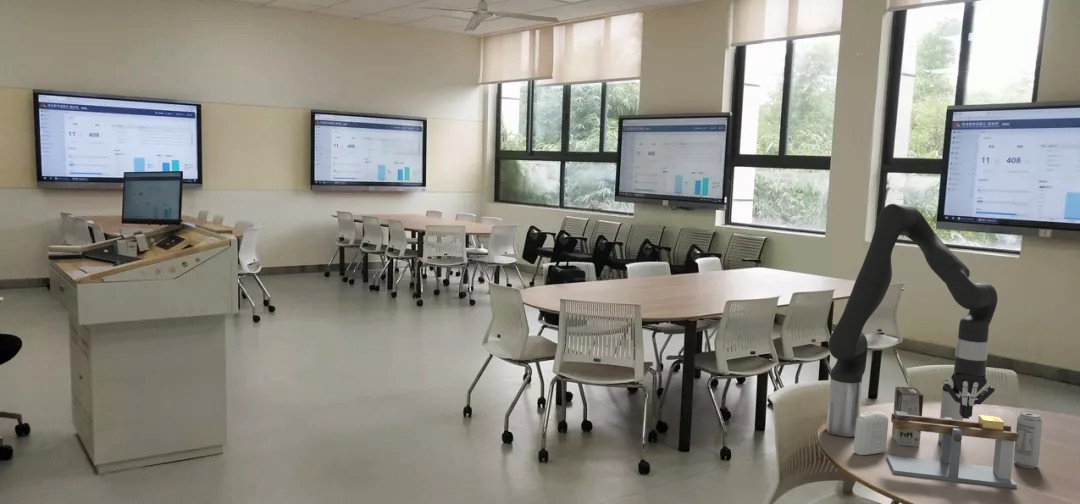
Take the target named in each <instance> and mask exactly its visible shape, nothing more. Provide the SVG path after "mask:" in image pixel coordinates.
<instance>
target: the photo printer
mask: <svg viewBox="0 0 1080 504" xmlns="http://www.w3.org/2000/svg"><path fill="white" fill-rule="evenodd" d="M888 427H889V417H888V415H887V414H886V413H885V412H881V411H880V410H879V411H878V410H870V411H865V412H863V413H861V414H860V415H859V416H858V417H857V419H856V428H855V436H854V441H853V442H854V443H853V451H854V453H856V455H859V456H868V455H874V454H880V453H885V452H886V451H887V443H888V441H887V440H888V429H889V428H888Z"/></svg>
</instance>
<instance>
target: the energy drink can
mask: <svg viewBox="0 0 1080 504" xmlns="http://www.w3.org/2000/svg"><path fill="white" fill-rule="evenodd" d="M1042 428H1043V420H1042V419H1041V414H1039V413H1036V412H1033V411H1020V413H1019V415H1018V416H1017V418H1016V429H1015V432H1017V433H1018V442H1015V441H1014V449H1013V461H1014V462H1015V465H1016V466H1018V467H1021V468H1026V469H1036V467H1037V466H1039V461H1040V460H1039V458H1040V451H1041V441H1042V440H1041V439H1042V438H1041V437H1042V430H1043V429H1042Z"/></svg>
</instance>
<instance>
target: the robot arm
mask: <svg viewBox="0 0 1080 504" xmlns="http://www.w3.org/2000/svg"><path fill="white" fill-rule="evenodd" d="M899 236H903V237H904V236H905V237H906V238H907V239H909V240H911V241H912V242H913V243H915V244H916V245H917V247H918V248H919V249H920V251H921V252H922V254H923V256H924V258H925V260H926V263H927V264H928V267H929V268H930V269H931V270H932V271H933V272H934V273H935V274H936V276H937V277H939V279H941V281H942V282H943V283H944V284H945V286H946V287H947V289H948V291H949V293H950V295H951V296H952V298H953V300H954V301H955V302H956V303H957V304H958V305H959V306H960V307H962V308H964V309H965V310H969V311H968V314H967V315H966V316H964V317H962V318H961V319H960V321H959V325H958V335H957V336H958V337H957V341H956V346H955V351H954V354H955V355H954V356H955V357H954V367H953V373H952V374H951V377H950V379H947V380H948V381H947V382H946V380H943V381H942V386H943V385H944V387H945V388H946V390H947V391H948V392H949V394H950V395H951V396H952V398H953V399H954V400H955V401H956V402H958V403H960V410H959V413H960V415H961V416H962V418H963V420H965V419H967V420H969V419H970V418H971V417H972V416H973V409H974V406H975V405H981V404H982V403H984V401H985V400H986V399H988V398H989V397H990V396H991V395H992V394H993V393H995V387H993V386H992V385H990V384H989V383H988V380H987V378H986V372H987V361H988V353H989V352H988V351H989V347H988V339H989V331H990V330H989V328H990V325H991V322H992V319H993V317H994V315H995V311H996V310H997V305H998V292H997V290H996V288H995V287H994V286H993V285H992V284H991V283H987V282H973V281H972V280H970V279H969V277H970V273H971V272H970V269H969V268H968V266H967V265H966V264H965V263H963V262H962V260H960V259H959V258H958V256H957V255H956V254H955V253H954V252H952V250H951V249H949V247H948V246H947V245H945V243H944V242H943V241H942V240H941V238H940V237H939V236H938V235H937V233H936V232H935V231H934V229H933V228H932V226H931V225H930V223H928V221H927V220H926V218H925V217H924V215H923V214H922V212H921V211H920V210H919V209H918V208H917V207H915V206H914V205H911V204H903V203H889V204H887V205H885V206H884V207H883V209H882V210H881V211H880V213H879V214H878V216H877V222H876V224H875V228H874V231H873V235H872V237H871V238H872V239H871V241H870V245H869V247H868V249H867V253H866V255H865V257H864V261H863V263H862V265H861V267H860V269H859V272H858V274H857V277H856V279H855V281H854V284H853V286H852V290H851V292H850V294H849V296H848V300H847V303H846V304H845V307H844V311H843V313H842V315H841V317H840V319H839V321H838V322H837V324H836V326H835V328H834V330H833V331H832V333H831V335H830V337H829V340H828V349H829V350H828V351H829V353H830V354H831V355H832V357H833V358H835V359H836V362H835V364H834V365H833V367H832V368H831V371H830V380H829V381H830V383H829V393H828V394H829V398H828V400H827V414H826V415H827V416H826V431H827V434H830V435H835V436H838V437H845V438H853V437H854V438H855V428H856V419H857V417H858V416H859V415H861V414H860V413H861V401H862V400H861V399H862V398H861V397H862V383H863V376H864V374H865V371H866V366H867V358H868V347H869V346H868V340H867V337H866V335H865V333H863V332H862V331H863V329H864V327H865V324H866V323H867V322H868V320H869V319H870V317H872V315H873V314H874V312H875V311H876V310H877V309H878V307H879V306H880V305H881V303H882V301H883V300H884V298H885V296H886V294H887V292H888V290H889V287H890V284H891V282H892V278H893V267H892V266H893V265H892V254H893V250H894V248H895V245H896V244H897V243H896V242H897V241H898V238H899ZM953 383H954V384H955V385H956V387H957V388H958V390H959V393H960V397H958V396H957V395H956V394H955V392H954V391H953V390H952V388H953V387H954V386H953ZM981 390H982V391H981ZM980 391H981V392H980ZM977 393H978V395H977Z"/></svg>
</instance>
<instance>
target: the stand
mask: <svg viewBox="0 0 1080 504" xmlns="http://www.w3.org/2000/svg"><path fill="white" fill-rule="evenodd" d="M944 419H952V418H948V417H944ZM962 437H963V436H962V430H961V429H955V428H952V436H951V435H950V434H943V435H942V445H941V447H940V448H941V449H940V460H935V459H934V460H933V459H932V460H931V459H924V458H923V459H922V458H916V457H915V458H914V457H907V456H898V455H897V456H896V455H895V456H894V455H889V454H888V455H886V460H887V462H888V465H889V467H890V469H891V471H892V473H894V474H893V475H898V474H900V476H907V475H909V476H908V477H916V478H926V479H934V480H942V481H950V482H960V483H968V484H976V485H983V486H984V485H985V486H986V485H987V486H992V487H993V486H994V487H1001V488H1010V489H1018V488H1017V487H1018V484H1017V483H1016V482H1015V480H1013V478H1012V468H1013V461H1014V450H1015V441H1006V440H997V439H995V441H994V455H993V462H992V463H993V465H992V466H987V465H978V464H969V463H960V461H961V450H962V449H961V448H962V439H963V438H962ZM951 438H952V440H951Z"/></svg>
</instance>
